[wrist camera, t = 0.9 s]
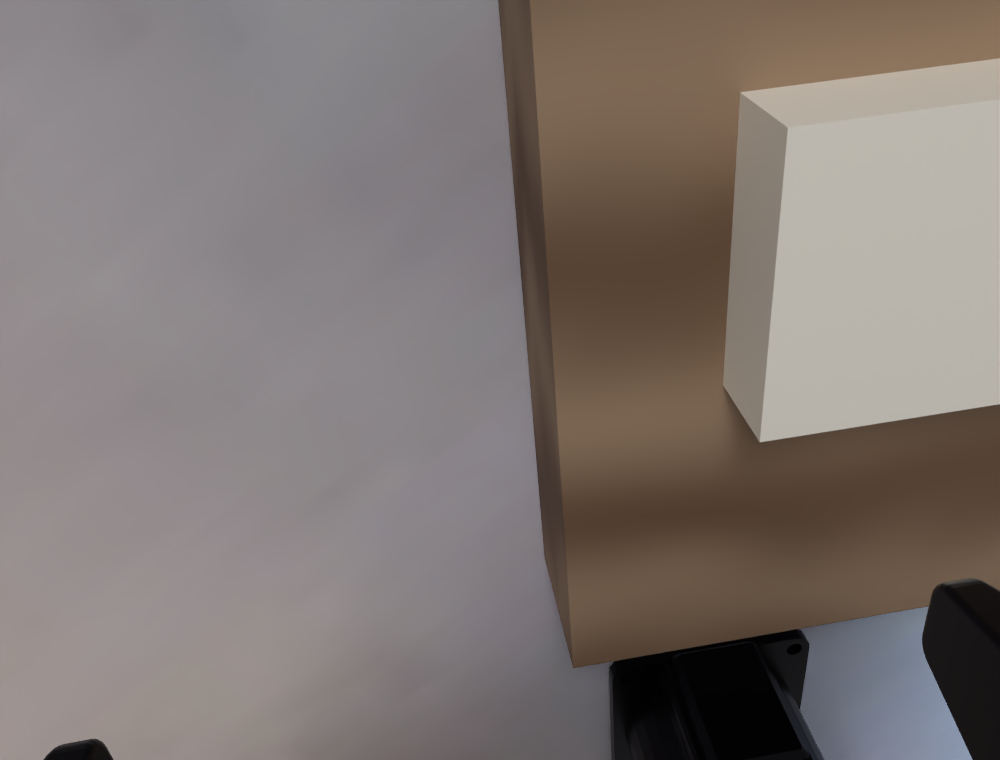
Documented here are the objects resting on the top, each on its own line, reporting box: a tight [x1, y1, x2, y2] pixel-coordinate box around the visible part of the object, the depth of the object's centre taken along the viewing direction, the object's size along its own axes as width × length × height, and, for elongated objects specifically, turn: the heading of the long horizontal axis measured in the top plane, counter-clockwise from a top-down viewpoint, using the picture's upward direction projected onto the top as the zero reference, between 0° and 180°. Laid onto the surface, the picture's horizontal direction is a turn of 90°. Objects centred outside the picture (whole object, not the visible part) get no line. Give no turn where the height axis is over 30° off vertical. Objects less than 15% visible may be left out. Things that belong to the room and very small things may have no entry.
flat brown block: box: [498, 0, 1000, 668], centre depth 19 cm, size 22×14×4 cm, turn 5°
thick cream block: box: [723, 58, 1000, 442], centre depth 16 cm, size 6×9×2 cm, turn 95°
